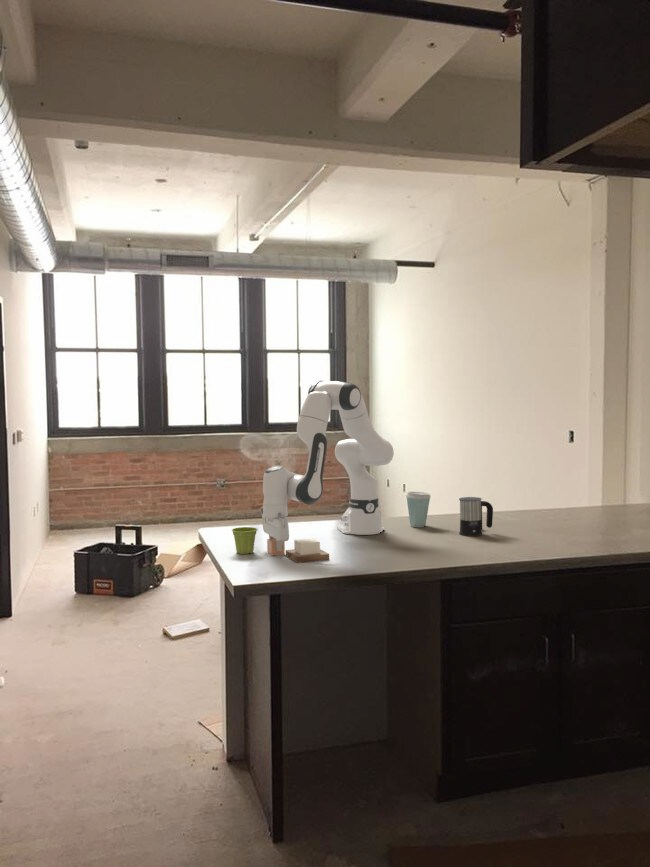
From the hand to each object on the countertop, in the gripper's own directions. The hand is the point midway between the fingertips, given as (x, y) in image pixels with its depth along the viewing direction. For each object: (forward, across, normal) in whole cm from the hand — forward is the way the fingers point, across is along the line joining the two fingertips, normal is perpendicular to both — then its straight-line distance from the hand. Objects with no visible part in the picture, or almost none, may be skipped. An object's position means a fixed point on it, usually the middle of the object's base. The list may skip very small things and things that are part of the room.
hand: (275, 548), depth 255 cm
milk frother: (+2, +3, -86) cm, 86 cm away
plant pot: (+2, +6, +10) cm, 12 cm away
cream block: (0, -11, -8) cm, 14 cm away
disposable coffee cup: (+2, +24, -73) cm, 77 cm away
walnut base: (+2, -11, -8) cm, 14 cm away
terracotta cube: (+2, 0, 0) cm, 2 cm away
